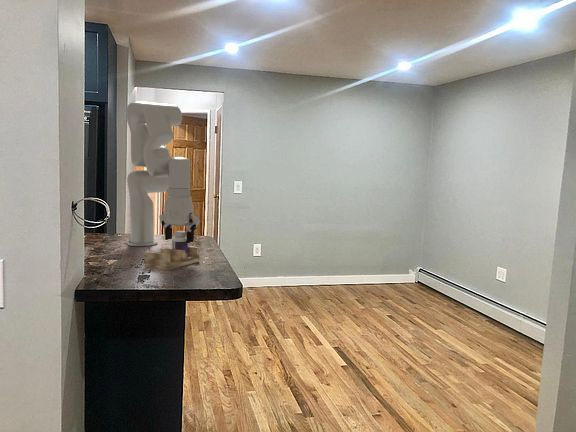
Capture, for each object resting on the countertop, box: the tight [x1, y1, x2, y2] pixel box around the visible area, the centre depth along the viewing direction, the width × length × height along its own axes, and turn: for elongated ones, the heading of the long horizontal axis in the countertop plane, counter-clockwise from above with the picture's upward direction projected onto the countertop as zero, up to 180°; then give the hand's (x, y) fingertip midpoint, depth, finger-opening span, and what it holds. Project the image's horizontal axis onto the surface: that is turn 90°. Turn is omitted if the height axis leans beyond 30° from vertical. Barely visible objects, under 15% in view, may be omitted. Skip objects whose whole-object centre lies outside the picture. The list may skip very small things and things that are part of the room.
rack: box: [144, 245, 200, 271], centre depth 162 cm, size 10×17×5 cm, turn 154°
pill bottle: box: [171, 230, 189, 258], centre depth 165 cm, size 5×5×10 cm
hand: (179, 240), depth 165 cm, fingers open, 9 cm apart
